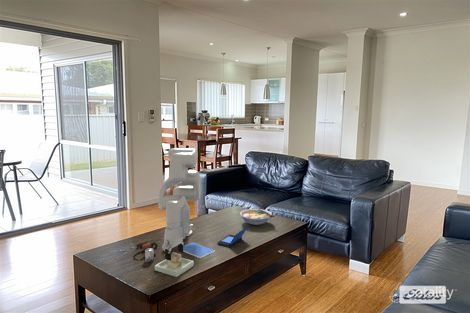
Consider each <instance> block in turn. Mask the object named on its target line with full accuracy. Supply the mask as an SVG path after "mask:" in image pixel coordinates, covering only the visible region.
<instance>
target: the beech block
mask: <svg viewBox="0 0 470 313" xmlns="http://www.w3.org/2000/svg"><path fill="white" fill-rule="evenodd" d="M170 253H171V260H167V267H170V268H173V269H176V268H178V267H179V266H181V258H182V253H180V252H179V253H178V252H175V251H173V252H170Z"/></svg>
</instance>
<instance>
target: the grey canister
mask: <svg viewBox="0 0 470 313" xmlns="http://www.w3.org/2000/svg"><path fill="white" fill-rule="evenodd" d="M153 248H154V247H153ZM153 248H148V249H146V250H145V251H144V253H145V257H144V259H145V263H153V262H154V261H155V258H154V257H155V256H154V252H155V250H154V249H153Z"/></svg>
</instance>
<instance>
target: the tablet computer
mask: <svg viewBox="0 0 470 313" xmlns="http://www.w3.org/2000/svg"><path fill="white" fill-rule="evenodd" d="M215 252H216V250H214V249H212V248H209V247H207V246H203V245H202V244H199V243H196V242H190V243H187V244H185V245H183V253H186V254H188V255H191V256H193V257H195V258H198V259H202V258H205V257H207V256H209V254H210V255H212V254H214V253H215Z"/></svg>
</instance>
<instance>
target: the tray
mask: <svg viewBox="0 0 470 313" xmlns="http://www.w3.org/2000/svg"><path fill="white" fill-rule="evenodd" d="M194 265H195V262H194V260H191V259H189V258H184V257H181V266H179V267H178V268H176V269H173V268H170V267H167V260H166V259H164V260H162V261H160V262H158V263H157V264H155V265H154V271H156V272H160V273H162V274H166V275H170V276H172V277H175V278H177V277H179V276H180V275H182V274H184V273H186V271H188V270H189V269H191V268H192V267H194Z"/></svg>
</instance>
